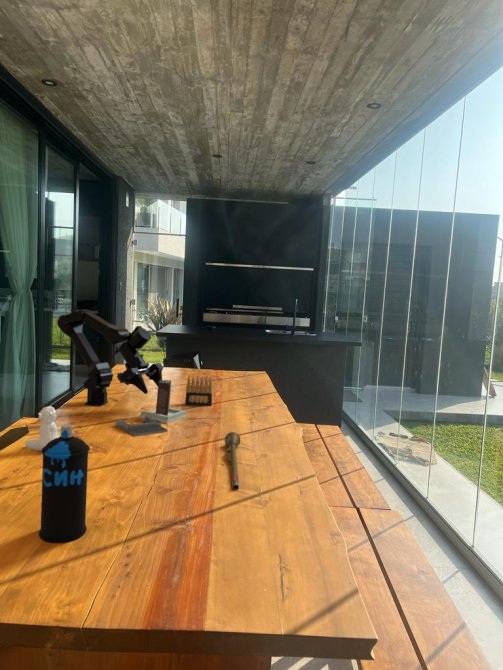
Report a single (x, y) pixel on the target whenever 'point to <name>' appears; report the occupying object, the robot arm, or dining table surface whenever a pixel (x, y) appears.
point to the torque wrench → (233, 455)
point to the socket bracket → (142, 427)
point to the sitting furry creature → (45, 429)
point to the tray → (172, 416)
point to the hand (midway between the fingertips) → (154, 391)
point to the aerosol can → (64, 488)
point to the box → (163, 397)
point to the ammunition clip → (199, 392)
